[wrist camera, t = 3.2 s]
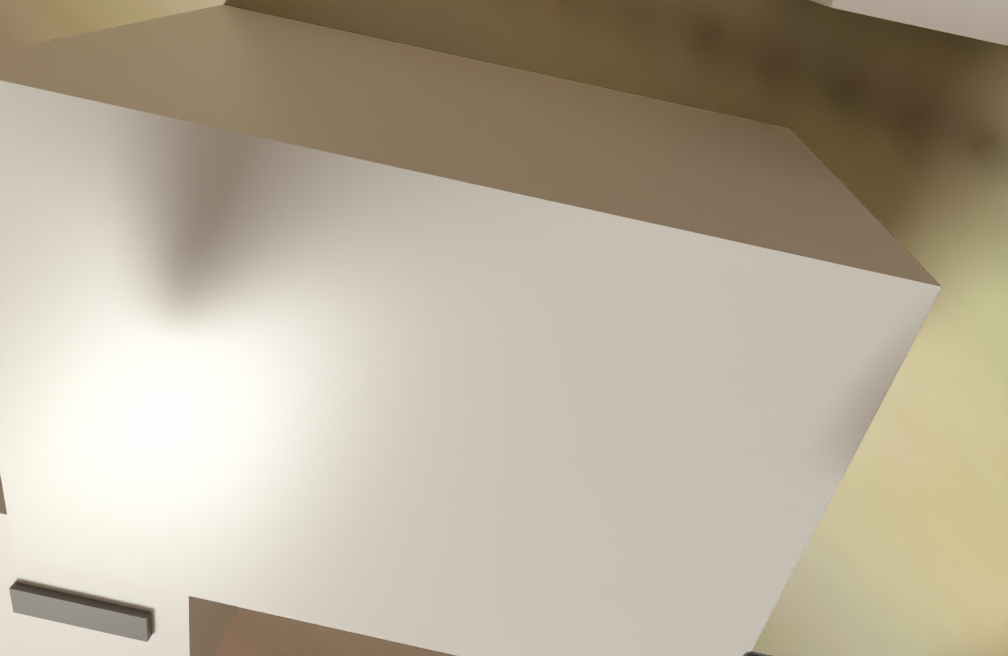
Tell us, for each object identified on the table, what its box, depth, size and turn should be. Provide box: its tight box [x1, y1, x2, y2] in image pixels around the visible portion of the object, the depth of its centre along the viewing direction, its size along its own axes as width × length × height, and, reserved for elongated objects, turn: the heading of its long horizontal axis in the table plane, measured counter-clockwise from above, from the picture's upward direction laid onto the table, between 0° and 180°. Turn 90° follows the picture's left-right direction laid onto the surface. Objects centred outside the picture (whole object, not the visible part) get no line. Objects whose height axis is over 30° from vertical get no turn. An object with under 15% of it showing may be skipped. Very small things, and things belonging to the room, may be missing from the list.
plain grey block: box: [0, 5, 942, 656], centre depth 14 cm, size 8×12×8 cm, turn 79°
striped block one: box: [0, 476, 238, 656], centre depth 20 cm, size 5×5×5 cm
